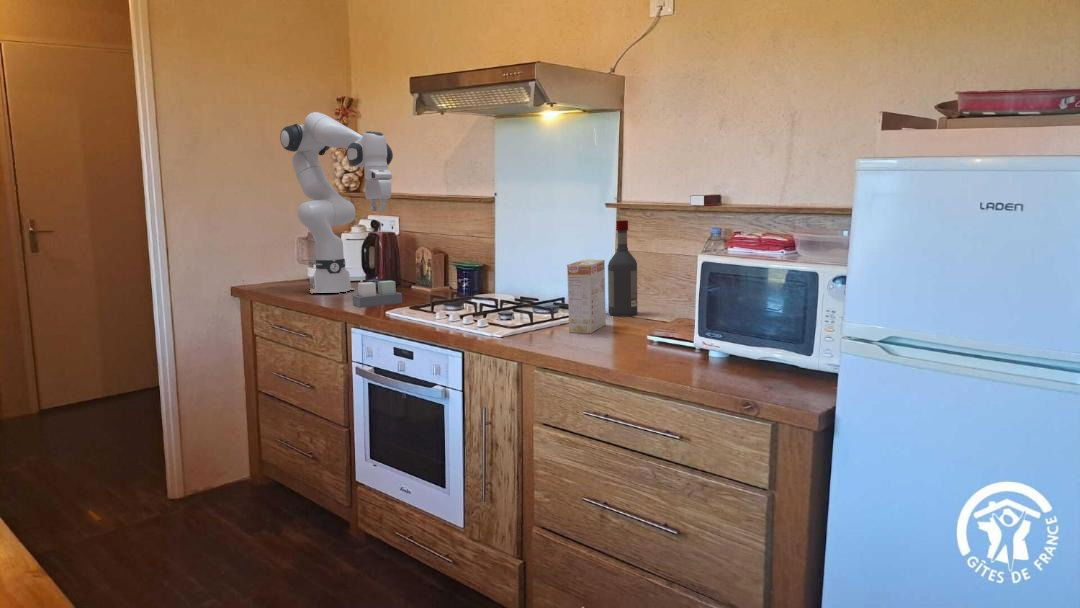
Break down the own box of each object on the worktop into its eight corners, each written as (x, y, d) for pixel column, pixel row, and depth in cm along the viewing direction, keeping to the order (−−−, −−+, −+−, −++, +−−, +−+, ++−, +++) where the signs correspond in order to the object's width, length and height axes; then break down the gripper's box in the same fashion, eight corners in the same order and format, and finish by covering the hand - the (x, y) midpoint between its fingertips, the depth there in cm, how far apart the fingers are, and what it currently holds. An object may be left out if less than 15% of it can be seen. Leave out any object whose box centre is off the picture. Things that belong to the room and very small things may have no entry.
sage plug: (378, 302, 281) (377, 281, 280) (391, 301, 284) (390, 280, 283) (383, 304, 277) (382, 282, 276) (396, 303, 280) (395, 281, 278)
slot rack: (353, 306, 278) (352, 295, 278) (394, 301, 286) (394, 291, 286) (360, 308, 271) (359, 297, 270) (402, 304, 279) (402, 293, 278)
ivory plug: (359, 304, 278) (357, 283, 277) (372, 303, 280) (371, 282, 279) (363, 306, 273) (362, 284, 272) (376, 304, 276) (375, 283, 275)
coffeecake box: (584, 323, 227) (582, 259, 225) (606, 324, 225) (605, 259, 222) (567, 332, 214) (566, 264, 211) (591, 333, 211) (590, 264, 208)
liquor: (608, 316, 240) (607, 221, 236) (609, 311, 249) (608, 220, 245) (637, 316, 239) (636, 220, 235) (637, 311, 248) (636, 219, 244)
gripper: (360, 175, 295) (362, 211, 296) (377, 173, 277) (379, 211, 279) (375, 175, 298) (377, 210, 300) (393, 173, 280) (395, 211, 282)
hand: (378, 211), depth 289 cm, fingers open, 8 cm apart
